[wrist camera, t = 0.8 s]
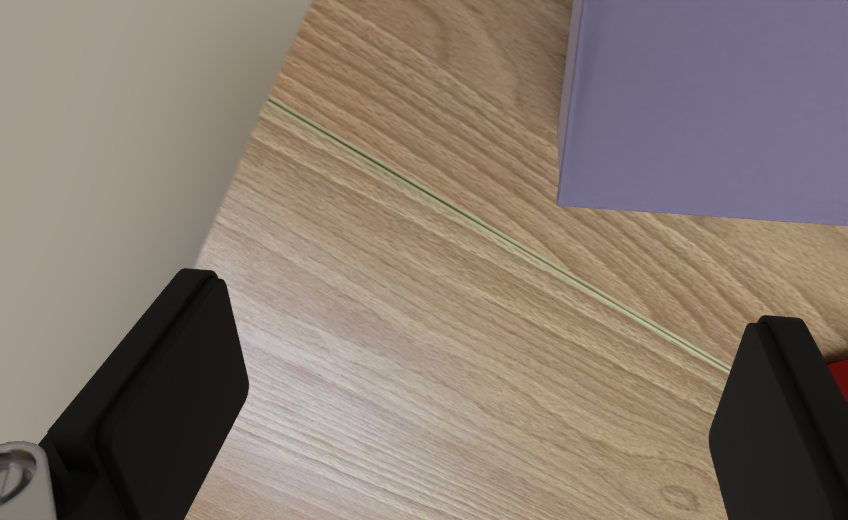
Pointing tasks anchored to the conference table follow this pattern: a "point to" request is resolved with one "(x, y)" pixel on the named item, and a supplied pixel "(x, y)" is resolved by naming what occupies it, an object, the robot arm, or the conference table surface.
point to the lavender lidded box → (707, 109)
